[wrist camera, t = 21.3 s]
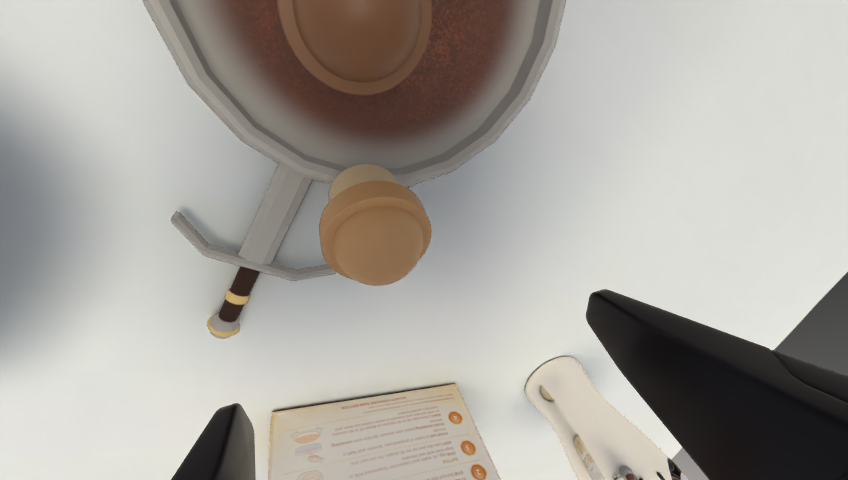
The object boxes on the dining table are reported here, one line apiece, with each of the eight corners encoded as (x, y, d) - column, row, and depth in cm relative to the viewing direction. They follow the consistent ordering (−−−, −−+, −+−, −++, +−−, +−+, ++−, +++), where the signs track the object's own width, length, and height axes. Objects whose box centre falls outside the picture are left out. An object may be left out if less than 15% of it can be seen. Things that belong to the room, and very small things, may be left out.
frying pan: (-5, 317, 15) (224, -768, 7) (36, 278, 18) (242, -563, 9) (356, 376, 24) (658, -80, 15) (350, 344, 26) (609, -66, 18)
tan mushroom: (407, 143, 16) (445, 213, 13) (412, 221, 19) (443, 295, 16) (304, 160, 15) (311, 241, 12) (326, 239, 19) (337, 321, 15)
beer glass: (514, 375, 33) (646, 579, 21) (579, 341, 34) (745, 519, 21) (526, 412, 37) (644, 602, 25) (584, 381, 38) (727, 551, 25)
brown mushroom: (395, -63, 13) (448, -112, 9) (409, 75, 15) (455, 92, 11) (262, -57, 12) (246, -109, 8) (299, 90, 14) (302, 115, 10)
